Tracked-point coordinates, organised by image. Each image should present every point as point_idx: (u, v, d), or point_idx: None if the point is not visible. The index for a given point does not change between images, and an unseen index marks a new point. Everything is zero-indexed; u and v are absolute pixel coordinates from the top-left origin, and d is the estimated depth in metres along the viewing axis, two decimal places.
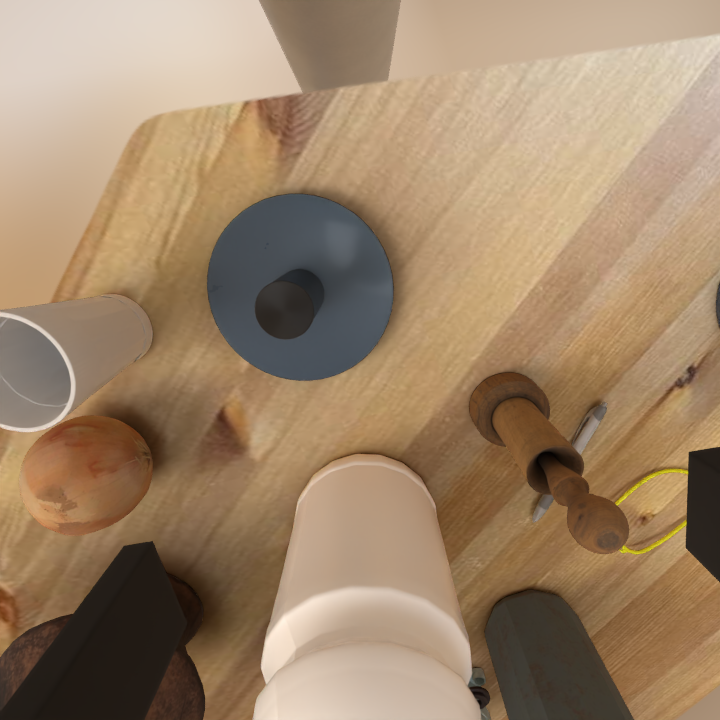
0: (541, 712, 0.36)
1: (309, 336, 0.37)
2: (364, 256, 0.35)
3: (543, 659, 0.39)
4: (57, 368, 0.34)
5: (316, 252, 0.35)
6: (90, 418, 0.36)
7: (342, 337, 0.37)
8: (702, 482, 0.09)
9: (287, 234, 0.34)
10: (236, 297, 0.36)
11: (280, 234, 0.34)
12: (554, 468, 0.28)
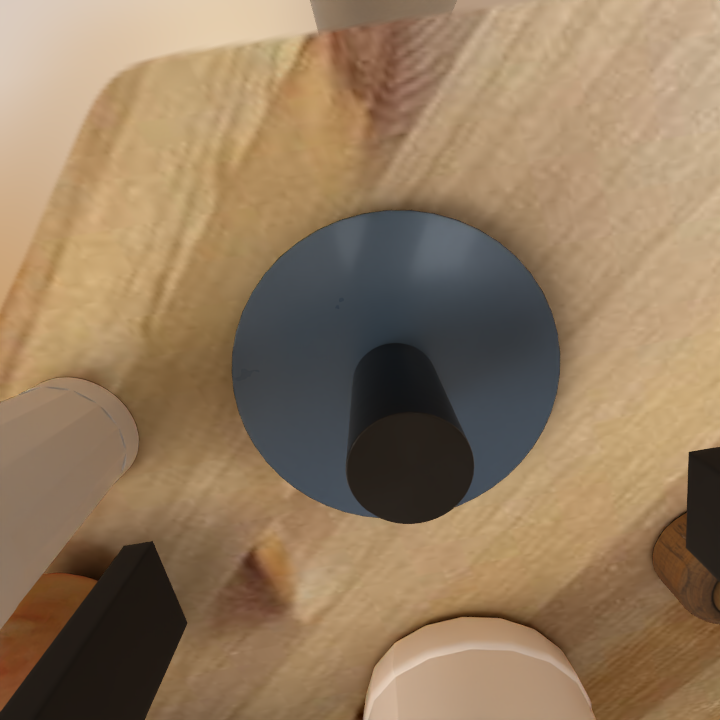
0: None
1: None
2: (514, 321, 0.19)
3: None
4: None
5: (428, 314, 0.19)
6: (31, 593, 0.21)
7: None
8: (702, 482, 0.09)
9: (378, 283, 0.19)
10: (282, 389, 0.21)
11: (364, 284, 0.19)
12: None
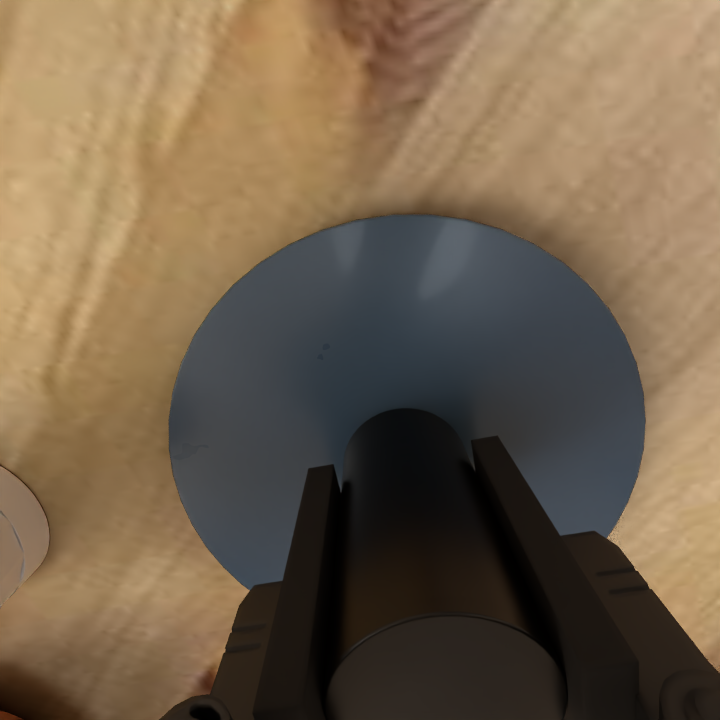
0: None
1: None
2: (581, 377, 0.13)
3: None
4: None
5: (455, 368, 0.13)
6: None
7: None
8: (476, 463, 0.12)
9: (381, 323, 0.13)
10: (242, 472, 0.14)
11: (361, 324, 0.13)
12: None
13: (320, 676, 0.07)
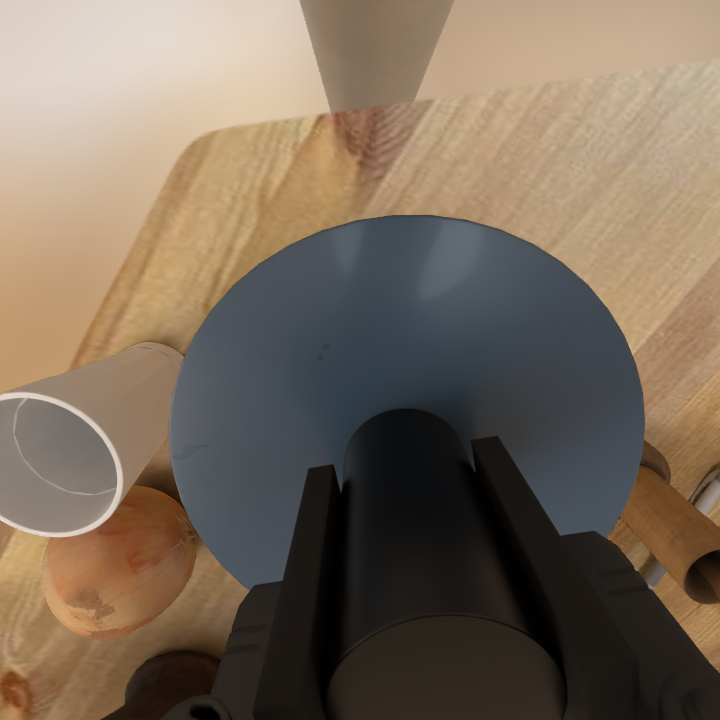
0: None
1: None
2: (581, 377, 0.13)
3: None
4: (88, 438, 0.28)
5: (455, 368, 0.13)
6: None
7: None
8: (477, 464, 0.12)
9: (381, 323, 0.13)
10: (242, 471, 0.14)
11: (361, 324, 0.13)
12: None
13: (320, 676, 0.07)
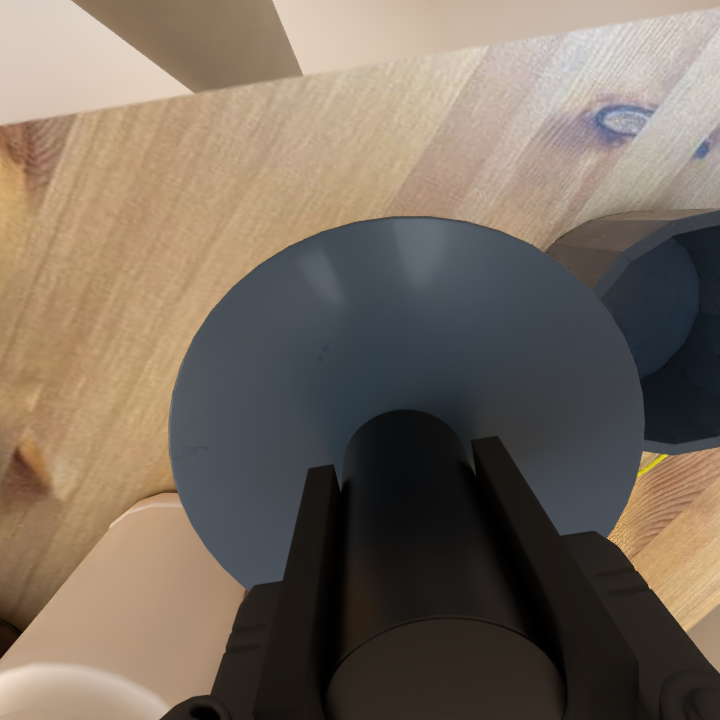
0: None
1: None
2: (580, 379, 0.13)
3: None
4: None
5: (455, 369, 0.13)
6: None
7: None
8: (476, 464, 0.12)
9: (381, 324, 0.13)
10: (242, 473, 0.14)
11: (360, 325, 0.13)
12: None
13: (320, 676, 0.07)
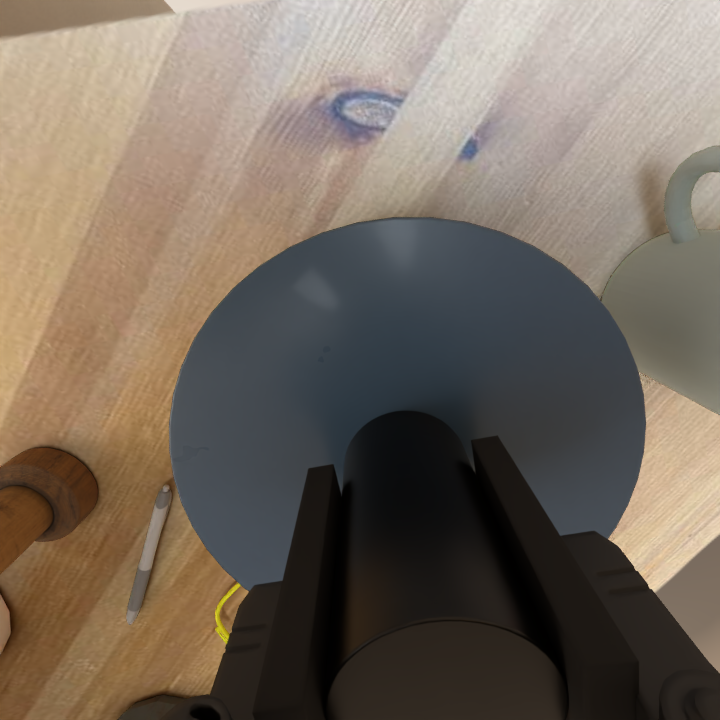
0: None
1: None
2: (582, 380, 0.13)
3: None
4: None
5: (456, 370, 0.13)
6: None
7: None
8: (476, 463, 0.12)
9: (382, 325, 0.13)
10: (242, 474, 0.14)
11: (361, 326, 0.13)
12: None
13: (320, 676, 0.07)
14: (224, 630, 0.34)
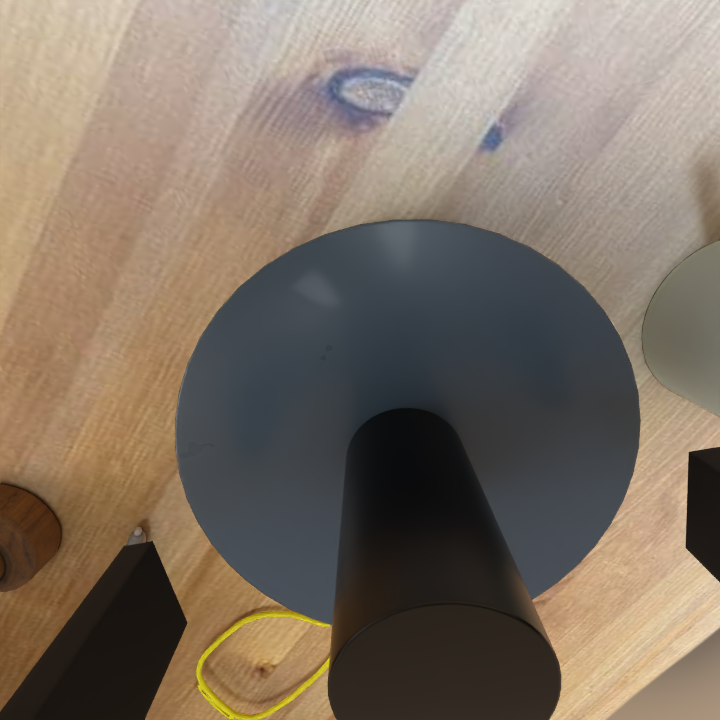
0: None
1: None
2: (577, 378, 0.13)
3: None
4: None
5: (455, 368, 0.13)
6: None
7: None
8: (702, 482, 0.09)
9: (383, 324, 0.13)
10: (246, 470, 0.15)
11: (362, 325, 0.13)
12: None
13: None
14: (207, 688, 0.30)
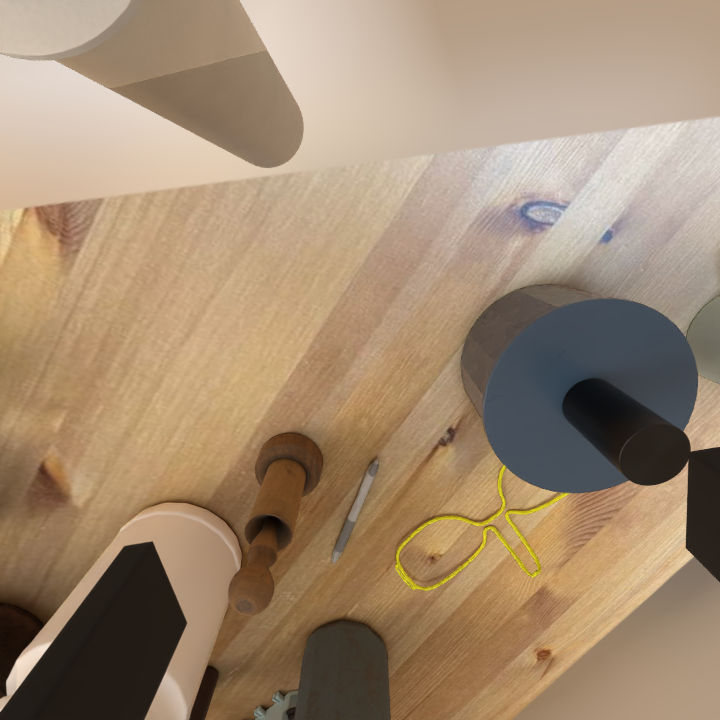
0: None
1: (590, 447, 0.33)
2: (671, 364, 0.31)
3: (322, 687, 0.44)
4: None
5: (617, 360, 0.31)
6: None
7: None
8: (702, 482, 0.09)
9: (588, 341, 0.30)
10: (515, 407, 0.32)
11: (579, 342, 0.30)
12: (259, 533, 0.33)
13: None
14: (401, 567, 0.47)
